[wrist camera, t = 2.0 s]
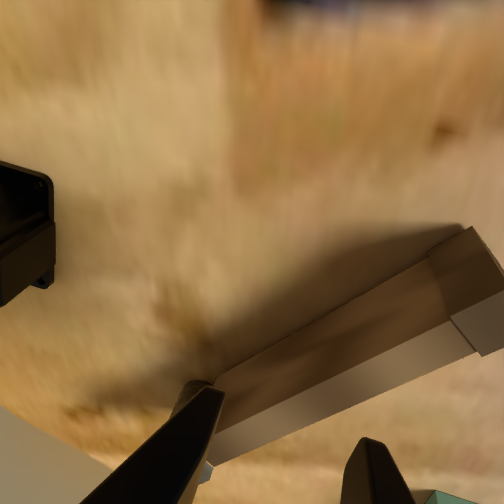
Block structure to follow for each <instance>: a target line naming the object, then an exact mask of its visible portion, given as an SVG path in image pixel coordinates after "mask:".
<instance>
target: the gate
mask: <svg viewBox="0 0 504 504" xmlns="http://www.w3.org/2000/svg"><path fill="white" fill-rule="evenodd" d="M427 253H428V256H429V257H428V258H426V259H424V260H422V261H420V262H419V263H417V264H415V265H413V266H412V267H410V268H408V269H406V270H405V271H403V272H401V273H399V274H398V275H396V276H394V277H392V278H391V279H389V280H387V281H385V282H384V283H382V284H380V285H378V286H377V287H375V288H373V289H371V290H369V291H368V292H366V293H364V294H362V295H361V296H359V297H357V298H355V299H354V300H352V301H350V302H348V303H347V304H345V305H343V306H341V307H340V308H338V309H336V310H334V311H333V312H331V313H329V314H327V315H325V316H324V317H322V318H320V319H318V320H317V321H315V322H313V323H311V324H310V325H308V326H306V327H304V328H303V329H301V330H299V331H297V332H296V333H294V334H292V335H290V336H289V337H287V338H285V339H283V340H282V341H280V342H278V343H276V344H274V345H273V346H271V347H269V348H267V349H266V350H264V351H262V352H260V353H259V354H257V355H255V356H253V357H252V358H250V359H248V360H246V361H245V362H243V363H241V364H239V365H238V366H236V367H234V368H232V369H230V370H229V371H227V372H225V373H223V374H222V375H220V376H218V377H216V380H215V383H214V385H213V387H214V388H217V389H220V390H223V391H225V393H226V397H225V400H224V404H223V407H222V411H221V414H220V418H219V421H218V424H217V428H216V431H215V434H214V437H213V440H212V443H211V446H210V450H209V453H208V456H207V459H206V460H207V461H208V462H209V463H210V464H211V465H212V466H213V467H215V466H217V465H220V464H222V463H224V462H226V461H229V460H231V459H233V458H236V457H238V456H240V455H242V454H245V453H247V452H249V451H252V450H254V449H256V448H258V447H261V446H263V445H265V444H267V443H270V442H272V441H274V440H277V439H279V438H281V437H283V436H286V435H288V434H290V433H293V432H295V431H297V430H299V429H302V428H304V427H306V426H309V425H311V424H313V423H315V422H318V421H320V420H322V419H325V418H327V417H329V416H331V415H334V414H336V413H338V412H340V411H343V410H345V409H347V408H350V407H352V406H354V405H356V404H359V403H361V402H363V401H366V400H368V399H370V398H372V397H375V396H377V395H379V394H382V393H384V392H386V391H388V390H391V389H393V388H395V387H397V386H400V385H402V384H404V383H407V382H409V381H411V380H413V379H416V378H418V377H420V376H423V375H425V374H427V373H429V372H432V371H434V370H436V369H439V368H441V367H443V366H445V365H448V364H450V363H452V362H455V361H457V360H459V359H461V358H464V357H466V356H468V355H470V354H473V353H475V352H478V353H479V354H480V355H481V357H483V356H486V355H488V354H490V353H492V352H495V351H497V350H499V349H502V348H504V270H503V269H502V267H501V265H500V264H499V262H498V261H497V259H496V258H495V257H494V255H493V254H492V253H491V251H490V250H489V248H488V247H487V246H486V244H485V243H484V242H483V240H482V239H481V237H480V236H479V235H478V233H477V232H476V231H475V229H474V228H473V226H471V227H469V228H467V229H465V230H464V231H462V232H460V233H458V234H457V235H455V236H453V237H452V238H450V239H448V240H446V241H445V242H443V243H441V244H439V245H438V246H436V247H434V248H432V249H431V250H429V251H427ZM212 470H213V468H212V467H211V466H210V465H209V464H208V463H207V462H205V465H204V468H203V471H202V475H201V478H200V481H199V484H202V483H204V482H206V481H209V480H210V477H211V474H212ZM199 484H198V485H199Z"/></svg>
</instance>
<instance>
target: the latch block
mask: <svg viewBox="0 0 504 504" xmlns="http://www.w3.org/2000/svg"><path fill="white" fill-rule="evenodd" d="M425 504H475V503H472V502H469V501H466V500H463V499H460V498H457V497H454V496H451V495H448V494H445V493H442V492H439V491H436V490H435V492H434V493H433V494H432V495H431V497H430V498H429V499H428V501H427V502H426V503H425Z"/></svg>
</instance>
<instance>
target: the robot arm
mask: <svg viewBox="0 0 504 504" xmlns="http://www.w3.org/2000/svg"><path fill="white" fill-rule="evenodd" d="M39 182H41V183H42V184H43V186H44V188H42V187H41V186H40V184H39ZM55 263H56V232H55V222H54V186H53V182H52V180H51V179H50V178H49V177H48V176H47V175H45V174H42V173H39V172H36V171H32V170H29V169H26V168H22V167H19V166H16V165H13V164H9V163H6V162H3V161H0V308H1V307H3V306H4V305H6V304H7V303H8V302H10V301H11V300H12V299H13V298H14V297H16V296H17V295H18V294H19V293H21V292H22V291H23V290H24V289H26V288H27V287H28V286H29V285H31V286H34V287H38V288H41V289H47V288H48V287H49V286H50V285H52V284H53V282H54V265H55ZM42 278H43V279H44V280H45V281H44V280H43V279H42ZM225 397H226V393H225V391H223V390H220V389H217V388H214V387H211V386H205V387H203V388H202V389H201V390H200V391H199V392H198V393H197V394H196V395H194V396H193V397H192V398H191V399H190V400H189V401H188V402H187V403H186V404H185V405H184V406H183V407H182V408H181V409H180V410H178V411H177V412H176V413H175V414H174V415H173V416H172V417H171V418H170V419H169V420H168V421H167V422H166V423H165V424H164V425H162V426H161V427H160V428H159V429H158V430H157V431H156V432H155V433H154V434H153V435H152V436H151V437H150V438H149V439H148V440H146V441H145V442H144V443H143V444H142V445H141V446H140V447H139V448H138V449H137V450H136V451H135V452H134V453H133V454H132V455H130V456H129V457H128V458H127V459H126V460H125V461H124V462H123V463H122V464H121V465H120V466H119V467H118V468H117V469H116V470H115V471H113V473H111V474H110V475H109V476H108V477H107V478H106V479H105V480H104V481H103V482H102V483H101V484H100V485H99V486H98V487H96V488H95V489H94V490H93V491H92V492H91V493H90V494H89V495H88V496H87V497H86V498H85V499H84V500H83V501H82V502H80V503H79V504H192V502H193V499H194V496H195V493H196V490H197V487H198V484H199V481H200V478H201V475H202V471H203V468H204V465H205V462H206V459H207V456H208V453H209V450H210V446H211V443H212V440H213V437H214V434H215V431H216V428H217V424H218V421H219V418H220V414H221V411H222V407H223V404H224V400H225ZM340 504H417V503H416V502H415V500H414V498H413V496H412V494H411V492H410V490H409V488H408V486H407V484H406V482H405V481H404V479H403V477H402V475H401V473H400V471H399V469H398V467H397V465H396V463H395V462H394V460H393V458H392V456H391V454H390V452H389V450H388V448H387V447H386V445H385V444H383V443H382V442H379V441H376V440H373V439H370V438H367V437H363V438H361V439H360V440H359V442H358V444H357V445H356V447H355V449H354V451H353V453H352V454H351V456H350V458H349V460H348V462H347V464H346V466H345V470H344V475H343V484H342V492H341V501H340Z"/></svg>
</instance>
